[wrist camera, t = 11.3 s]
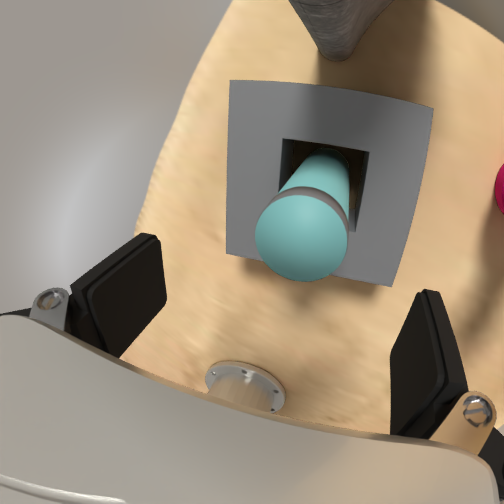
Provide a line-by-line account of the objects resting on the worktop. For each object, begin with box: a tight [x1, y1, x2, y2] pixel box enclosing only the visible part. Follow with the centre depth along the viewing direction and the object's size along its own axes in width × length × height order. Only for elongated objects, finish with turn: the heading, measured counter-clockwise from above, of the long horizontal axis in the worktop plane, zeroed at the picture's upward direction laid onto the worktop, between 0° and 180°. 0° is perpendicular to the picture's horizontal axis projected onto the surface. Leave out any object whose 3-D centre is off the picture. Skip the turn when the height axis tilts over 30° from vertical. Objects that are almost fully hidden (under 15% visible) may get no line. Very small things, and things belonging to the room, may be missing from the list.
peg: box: [255, 148, 350, 282], centre depth 18 cm, size 4×4×14 cm
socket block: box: [226, 80, 434, 287], centre depth 22 cm, size 14×14×5 cm
